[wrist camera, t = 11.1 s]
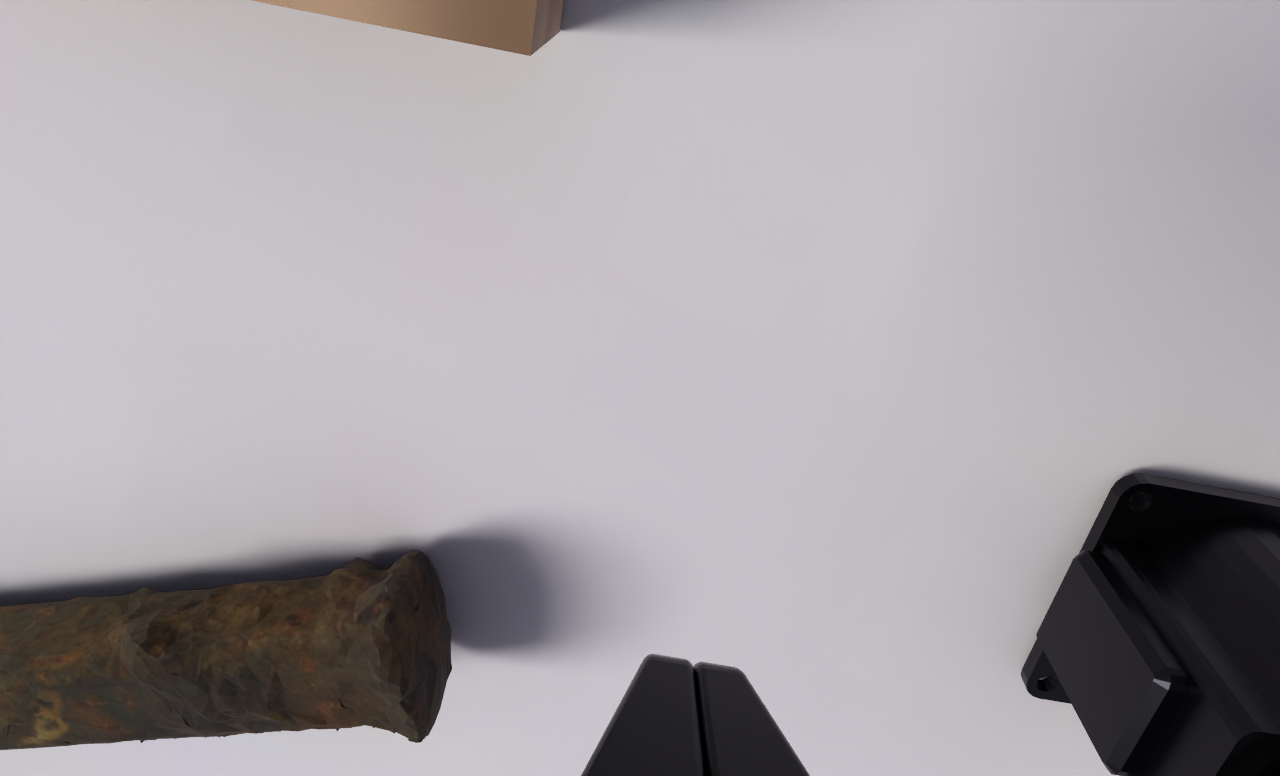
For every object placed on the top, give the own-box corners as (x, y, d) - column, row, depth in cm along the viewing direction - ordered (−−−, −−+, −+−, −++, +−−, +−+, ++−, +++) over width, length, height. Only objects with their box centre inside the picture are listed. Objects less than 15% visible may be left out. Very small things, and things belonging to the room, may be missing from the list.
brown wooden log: (442, 520, 22) (388, 655, 18) (468, 647, 24) (425, 797, 20) (-284, 555, 23) (-492, 690, 19) (-208, 674, 25) (-384, 820, 21)
